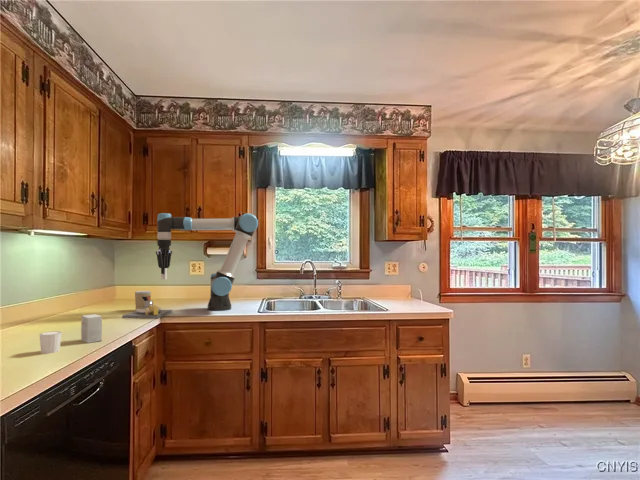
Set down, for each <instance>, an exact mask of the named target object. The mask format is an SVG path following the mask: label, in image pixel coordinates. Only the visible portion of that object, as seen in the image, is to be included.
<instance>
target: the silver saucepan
mask: <svg viewBox="0 0 640 480" xmlns="http://www.w3.org/2000/svg"><path fill="white" fill-rule="evenodd" d="M145 308H149V314H152V315H158V312H161V310H162V308H161V307H159V306H157V305H154V300H150V301H145V307H142V308H138V309H136V308H135V311H136V313H138V314H145Z"/></svg>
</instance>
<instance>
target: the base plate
mask: <svg viewBox="0 0 640 480" xmlns="http://www.w3.org/2000/svg"><path fill="white" fill-rule="evenodd" d="M169 313H170V314H171V313H173V309H161V312H158V315H152V314H149V308H145V314H138V313H136V310H134V311H132V312H129V313H125V314H122V319H159V318H162V317H164V316H167V315H169Z"/></svg>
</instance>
